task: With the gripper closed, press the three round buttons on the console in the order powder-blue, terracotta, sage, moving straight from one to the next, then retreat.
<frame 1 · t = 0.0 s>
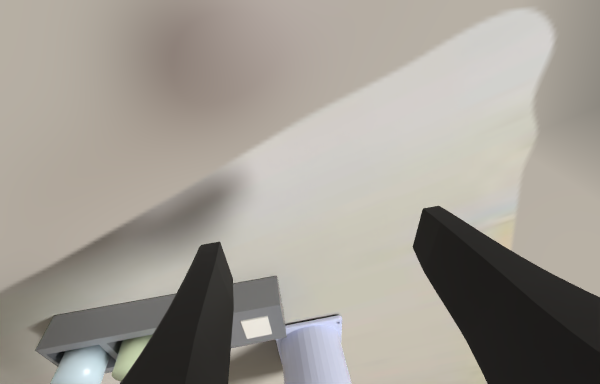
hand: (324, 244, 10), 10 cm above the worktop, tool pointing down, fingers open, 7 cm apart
sage button: (140, 355, 25), point 4 cm above the worktop, slide at 0.0 cm
console: (179, 312, 28), on the worktop
blue button: (83, 366, 25), point 3 cm above the worktop, slide at 0.0 cm
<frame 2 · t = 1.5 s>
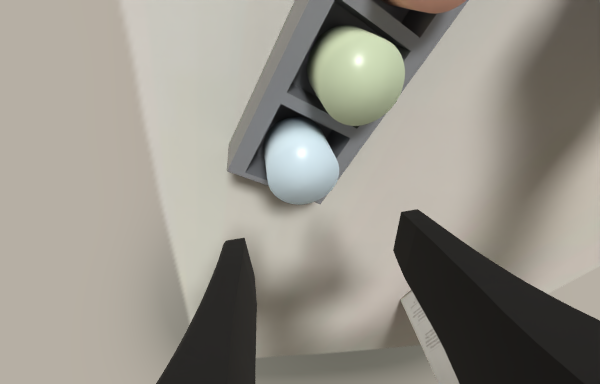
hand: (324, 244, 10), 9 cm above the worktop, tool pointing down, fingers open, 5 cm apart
sage button: (351, 74, 13), point 4 cm above the worktop, slide at 0.0 cm
skincare box: (438, 289, 33), on the worktop
console: (362, 2, 14), on the worktop
blue button: (298, 160, 15), point 4 cm above the worktop, slide at 0.0 cm
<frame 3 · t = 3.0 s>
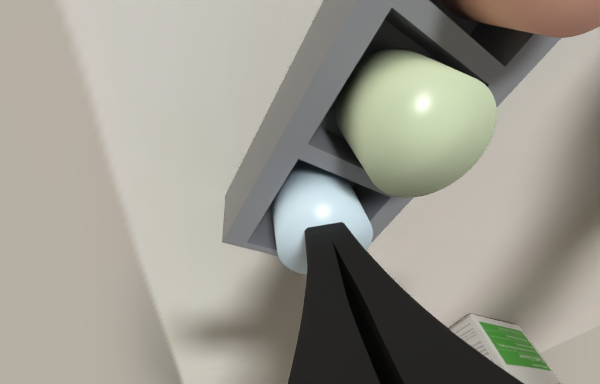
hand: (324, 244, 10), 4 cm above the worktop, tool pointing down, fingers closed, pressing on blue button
sage button: (404, 121, 9), point 4 cm above the worktop, slide at 0.0 cm
skincare box: (466, 333, 29), on the worktop
console: (412, 13, 10), on the worktop
blue button: (317, 216, 11), point 3 cm above the worktop, slide at 0.7 cm, touching gripper
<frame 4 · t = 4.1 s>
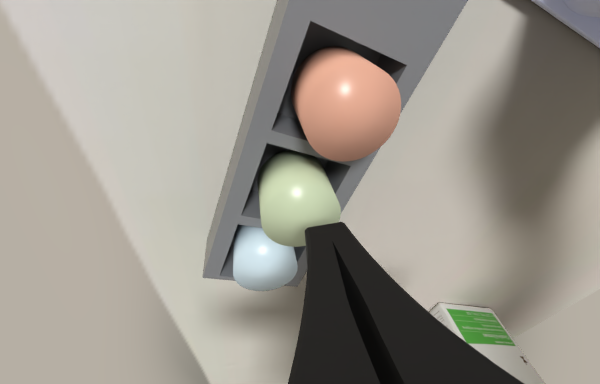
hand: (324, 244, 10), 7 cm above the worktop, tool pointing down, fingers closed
sage button: (296, 197, 14), point 4 cm above the worktop, slide at 0.0 cm
skincare box: (444, 319, 33), on the worktop
terracotta button: (340, 103, 11), point 4 cm above the worktop, slide at 0.0 cm
console: (304, 115, 15), on the worktop
blue button: (264, 250, 17), point 3 cm above the worktop, slide at 0.9 cm
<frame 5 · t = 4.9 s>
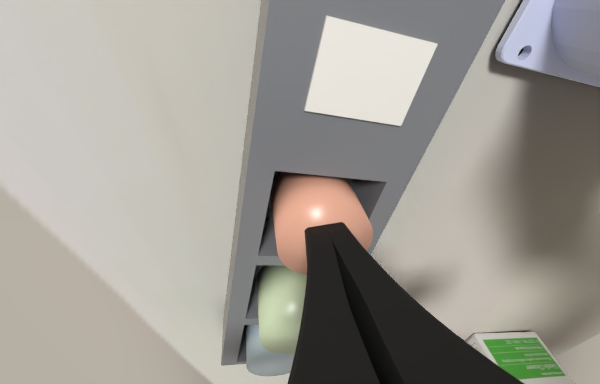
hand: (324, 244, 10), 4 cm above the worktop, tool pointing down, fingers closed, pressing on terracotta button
sage button: (295, 303, 13), point 4 cm above the worktop, slide at 0.0 cm
skincare box: (483, 344, 31), on the worktop
terracotta button: (317, 216, 11), point 3 cm above the worktop, slide at 0.8 cm, touching gripper
console: (296, 210, 15), on the worktop
blue button: (276, 335, 17), point 3 cm above the worktop, slide at 0.9 cm
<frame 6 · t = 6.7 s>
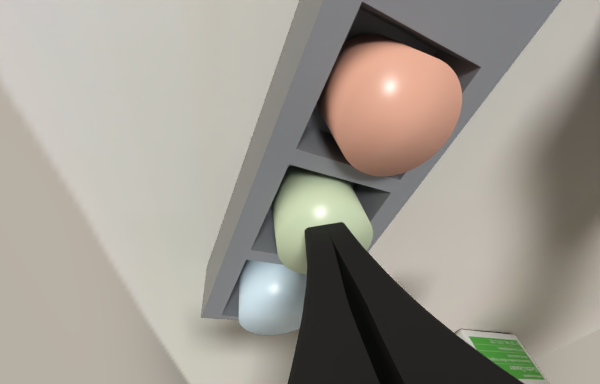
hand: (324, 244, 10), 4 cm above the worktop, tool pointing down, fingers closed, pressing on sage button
sage button: (317, 216, 11), point 3 cm above the worktop, slide at 0.8 cm, touching gripper
skincare box: (463, 344, 30), on the worktop
terracotta button: (379, 104, 9), point 3 cm above the worktop, slide at 1.0 cm
console: (331, 126, 12), on the worktop
blue button: (275, 286, 14), point 3 cm above the worktop, slide at 0.9 cm
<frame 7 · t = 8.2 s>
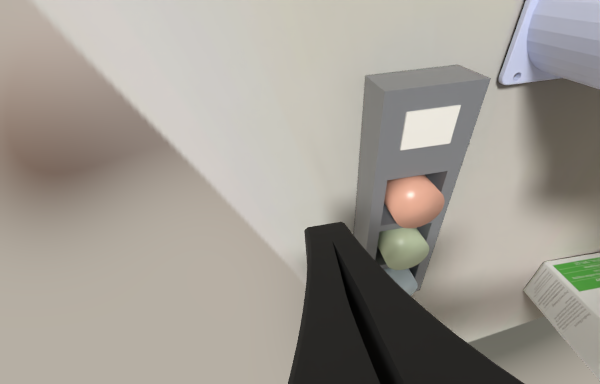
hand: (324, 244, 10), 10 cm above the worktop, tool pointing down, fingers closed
sage button: (399, 241, 23), point 3 cm above the worktop, slide at 1.0 cm
skincare box: (557, 271, 37), on the worktop
terracotta button: (409, 196, 20), point 3 cm above the worktop, slide at 1.0 cm
console: (390, 196, 24), on the worktop
blue button: (391, 276, 26), point 3 cm above the worktop, slide at 0.9 cm
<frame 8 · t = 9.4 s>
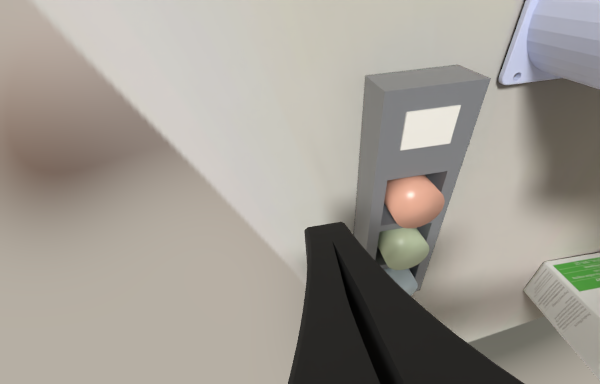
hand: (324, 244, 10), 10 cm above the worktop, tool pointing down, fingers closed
sage button: (399, 241, 23), point 3 cm above the worktop, slide at 1.0 cm
skincare box: (557, 271, 37), on the worktop
terracotta button: (409, 196, 20), point 3 cm above the worktop, slide at 1.0 cm
console: (391, 196, 24), on the worktop
blue button: (391, 276, 26), point 3 cm above the worktop, slide at 0.9 cm
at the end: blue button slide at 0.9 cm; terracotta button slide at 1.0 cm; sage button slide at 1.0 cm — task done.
